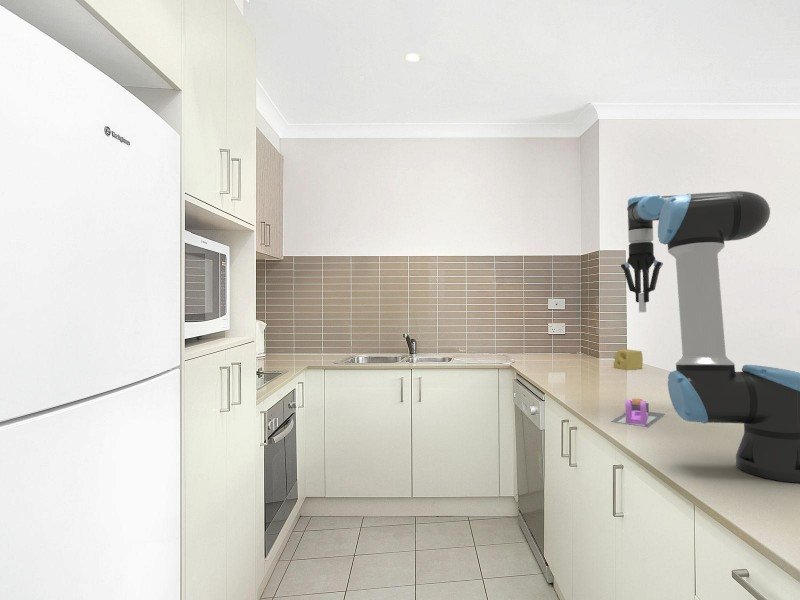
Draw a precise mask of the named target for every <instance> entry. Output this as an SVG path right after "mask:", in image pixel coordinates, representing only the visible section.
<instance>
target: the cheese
mask: <svg viewBox="0 0 800 600" xmlns="http://www.w3.org/2000/svg"><path fill="white" fill-rule="evenodd" d="M643 358H644V357H643V352H642V350H633V349H619V350H617V352H616V353H615V354H614V355H613V359H614V361H613V368H614V369H621V370H624V371H633V370H642V369H643V364H644V361H643Z"/></svg>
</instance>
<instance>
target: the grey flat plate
mask: <svg viewBox="0 0 800 600" xmlns="http://www.w3.org/2000/svg"><path fill="white" fill-rule="evenodd" d="M665 415H666V413H661V412H653V411H649V412H648V420H647V423H646V425H640V424H630V423H626V412H624V413H623V414H621V415H619V416H617V417H616V418H614V419H613V420H611V421H610V423H614V424H615V423H616V424H620V425H621V424H623V425H627V426H628V425H629V426H636V427H641V428H642V427H643V428H650V426H652V425H653V424H655V423H656V422H657V421H659V420H660V419H661V418H663V417H664V416H665Z"/></svg>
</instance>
